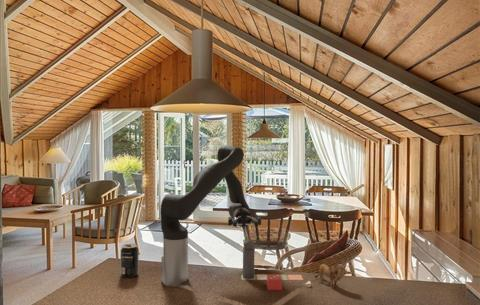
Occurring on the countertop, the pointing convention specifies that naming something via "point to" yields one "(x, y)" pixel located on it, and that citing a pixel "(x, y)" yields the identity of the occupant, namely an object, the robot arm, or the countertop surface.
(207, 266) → the countertop surface
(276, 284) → the red die
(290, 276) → the game board
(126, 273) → the beverage can
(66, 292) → the countertop surface
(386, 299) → the countertop surface
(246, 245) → the grey cylinder
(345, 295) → the countertop surface
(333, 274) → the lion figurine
